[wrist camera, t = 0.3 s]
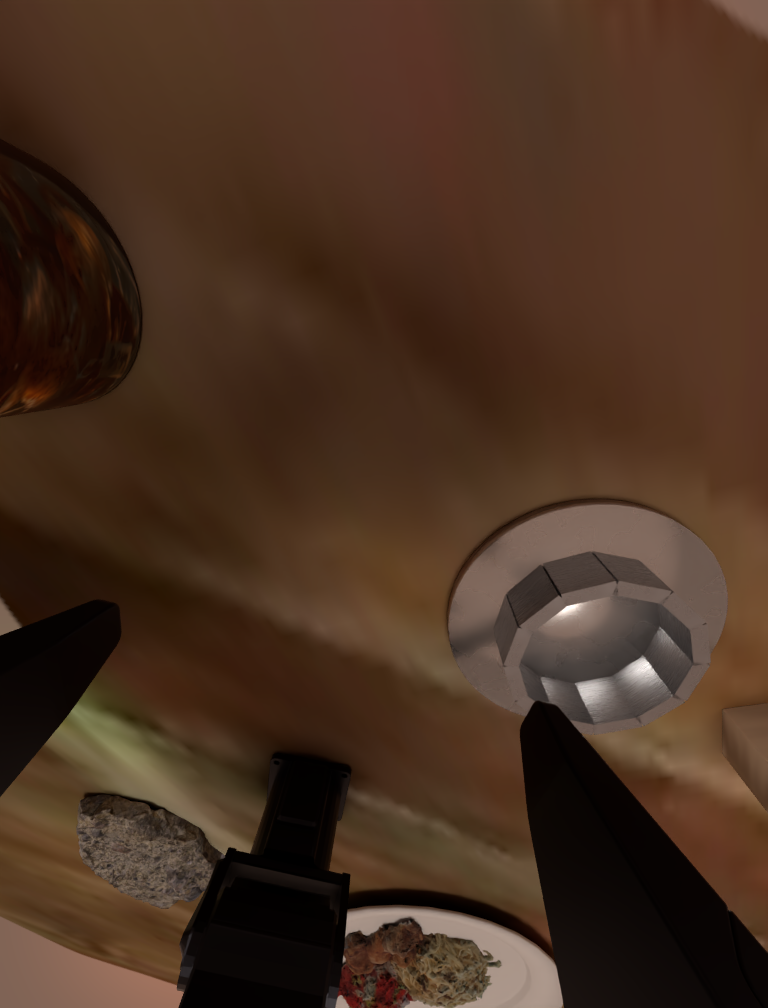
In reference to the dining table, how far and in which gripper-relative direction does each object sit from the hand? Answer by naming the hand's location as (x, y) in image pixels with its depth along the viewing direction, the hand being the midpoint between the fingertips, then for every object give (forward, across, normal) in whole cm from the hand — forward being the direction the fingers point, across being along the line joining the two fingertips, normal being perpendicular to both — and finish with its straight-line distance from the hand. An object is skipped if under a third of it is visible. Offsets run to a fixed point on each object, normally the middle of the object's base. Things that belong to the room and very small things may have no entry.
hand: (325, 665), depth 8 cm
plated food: (+13, -16, +55) cm, 59 cm away
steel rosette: (+14, -14, +7) cm, 21 cm away
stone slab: (+14, +14, +43) cm, 48 cm away
